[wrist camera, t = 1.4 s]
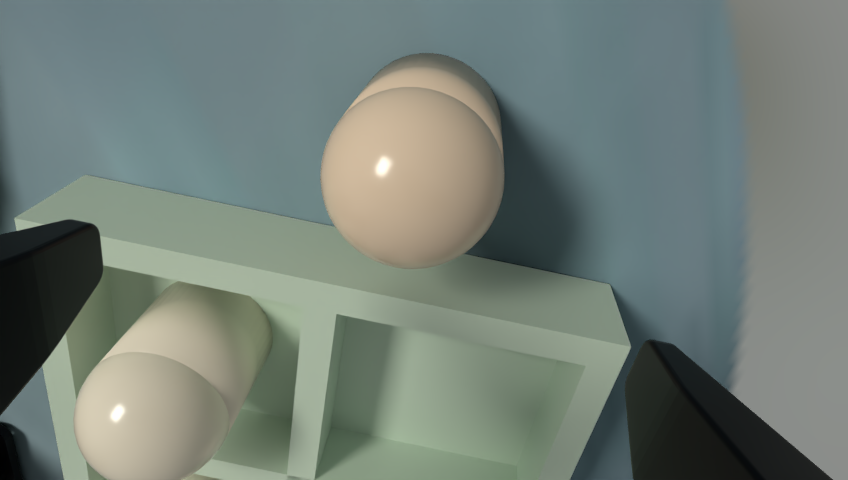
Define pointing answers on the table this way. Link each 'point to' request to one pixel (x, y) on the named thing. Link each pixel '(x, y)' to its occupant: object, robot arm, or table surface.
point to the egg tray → (351, 345)
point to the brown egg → (416, 163)
